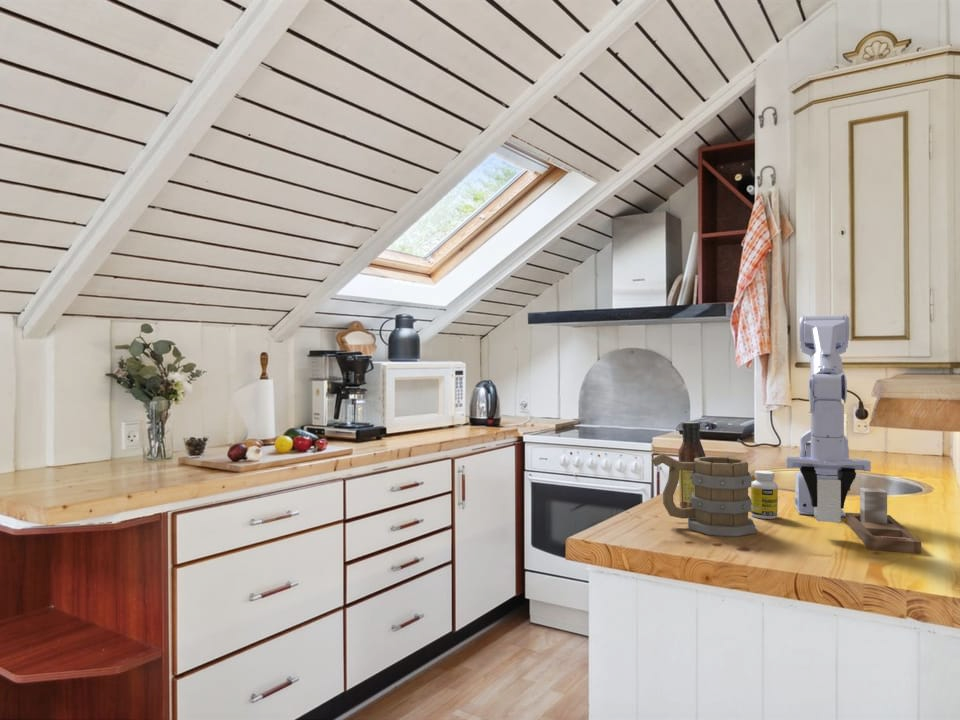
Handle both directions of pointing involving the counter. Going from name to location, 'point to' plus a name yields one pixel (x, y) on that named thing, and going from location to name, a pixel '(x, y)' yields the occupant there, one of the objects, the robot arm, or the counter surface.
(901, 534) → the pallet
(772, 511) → the supplement bottle
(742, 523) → the tankard
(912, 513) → the counter surface
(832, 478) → the block
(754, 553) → the counter surface
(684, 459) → the sauce bottle
